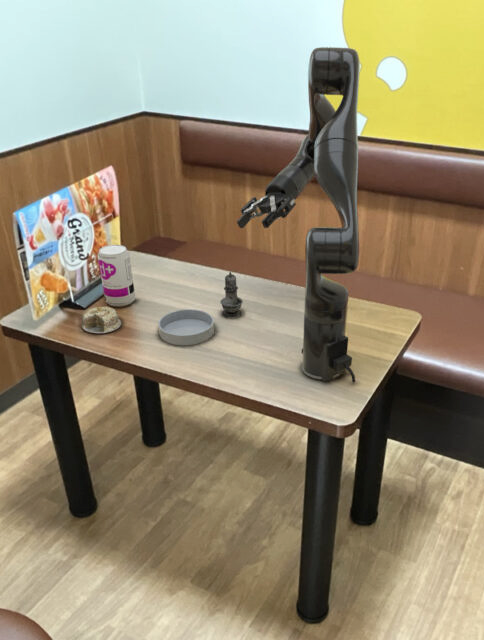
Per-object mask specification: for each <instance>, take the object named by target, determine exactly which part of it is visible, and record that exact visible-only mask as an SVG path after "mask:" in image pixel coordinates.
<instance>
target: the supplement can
mask: <svg viewBox="0 0 484 640" xmlns="http://www.w3.org/2000/svg"><path fill="white" fill-rule="evenodd" d="M97 261H98V266H99V272H100V279H101V282H102V290H103V296H104V301H105V303H106V304H107V305H108V306H111V307H116V308H117V307H118V308H120V307H126V306H128V305H131V304H132V303H133V302H134V301H135V300H136V293H135V292H136V291H135V286H134V285H135V284H134V278H133V271H132V264H131V256H130V252H129V250H128V249H127V247H126V246H125V245H123V244H107V245H104V246H102V247H100V248H99V250H98V253H97Z"/></svg>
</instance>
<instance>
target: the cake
mask: <svg viewBox="0 0 484 640" xmlns="http://www.w3.org/2000/svg"><path fill="white" fill-rule="evenodd" d="M121 326H122V322H121V319H120V318H119V314H118V312H117V311H116V309H114V308H113V307H109V306H98V307H97V306H95V307H92V308H88V309H86V310H85V311H84V312H83V314H82V317H81V328H82V329H83V330H84V331H86V332H88V333H92V334H106V333H111V332H113V331H116V330H118V329H119V328H120V327H121Z"/></svg>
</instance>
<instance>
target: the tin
mask: <svg viewBox="0 0 484 640" xmlns="http://www.w3.org/2000/svg"><path fill="white" fill-rule="evenodd" d="M157 324H158V325H157V327H158V334H159V337H160V339H161V340H163V341H164V342H165V343H168V344H171V345H173V346H193V345H197V344H201V343H203V342H206V341H208V340H210V339H211V338H212V337H213V335H214V334H215V320H214V317H213V316H212V315H211V314H210V313H208V312H206V311H203V310H200V309H195V308H194V309H192V308H188V309H187V308H185V309H178V310H173V311H170V312H168V313H166V314H164V315H163V316H162V317H161V318H160V319H159V320H158V323H157Z"/></svg>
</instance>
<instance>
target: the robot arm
mask: <svg viewBox="0 0 484 640" xmlns="http://www.w3.org/2000/svg"><path fill="white" fill-rule="evenodd" d="M360 63H361V62H360V56H359V52H358V51H357V50H356V49H354V48H350V47H331V46H329V47H328V46H327V47H324V46H323V47H316V48H314V49H312V51H311V53H310V56H309V60H308V67H307V89H308V90H307V95H308V96H307V97H308V107H309V123H308V133H307V135H305V137H304V138H303V139H302V142H301V145H300V147H299V149H298V152H297V154H296V155H295V157H294V158H293V159H292V160H291V161H290V162H289V163H288V164H287V166H286V167H285V168H283V169H282V170H281V171H280V172H279V173H278V174H277V175H276V176H275V177H274V178H273V179H272V180H271V181H270V182H269V183H268V184H267V185H266V188H265V191H264V192H265V193H264V195H263V196H262V197H260V199H257V197H256V196H253V197H252V198H251V199H250V200H249V201H247V203H246V204H245V205H243V206H242V208H240V212H241V214H242V215H241V216H240V217H239V218H238V219H237V220H236V224H237V225H238V227H239V229H244V228H245V227H246V225H248V223H250V221H251V220H252V219H254V218H256V217H257V218H259V217H261V216H264V215H265V214H266V215H265V217H263V219H262V220H261V224H262V226H263V228H264V229H268V228H269V227H270V226H272V224H273V223H274V222H275V221H277V220H280V218H281V219H286V217H287V216H288V215H289V214H290V212H291V211H292V210H293V209H294V207H295V206H296V205H297V203H296V200H297V198H298V197H300V195H301V194H302V193H303V191H304V190H305V188H306V187H307V186H308V185H309V184H310V183H311V181H312V180H313V179H314V178H315V179H316V182H317V183H318V185H319V186H320V188H321V189H322V191H323V192H324V194H325V195H326V196H327V198H328V199H329V200H330V202H331V204H332V206H333V207H334V209H335V211H336V212H337V216H338V217H339V220H340V225H341V227H327V226H326V227H324V226H320V227H319V226H318V227H317V226H315V227H311V228H310V229H309V230H308V231H307V234H306V236H305V243H304V245H305V246H304V257H305V259H304V260H305V289H304V290H305V291H304V309H303V311H304V312H303V313H304V315H303V339H302V340H303V341H302V342H303V343H302V349H301V354H302V364H301V371H302V372H303V374H304V375H306V376H307V377H309V378H311V379H313V380H320V381H323V382H325V383H327V382H329V381H332V380H334V379H337V378H338V377H341V376H343V375H346V372H347V371H348V373H349V374H350V376H351V377H350V378H351V383H356V375H355V372H354V371H353V370H352V368H351V367H352V362H353V357H352V356H351V355H349V354H348V348H349V337H348V336H347V335H346V331H347V318H348V307H349V290H348V288H347V287H346V286H345V285H343V284H342V283H340V282H337V281H335V280H332V279H330V278H328V277H326V276H325V275H349V274H354V273H355V272H356V271H357V269H358V266H359V262H360V233H359V217H358V173H359V140H358V107H359V106H358V104H359V89H360V71H361V70H360V69H361V67H360V66H361V64H360ZM326 96H342V98H341V100H340V103H339V104H338V107H337V109H335V107H334V105H333V104H332V102H331V101H330V100H329V99H328V98H327V97H326ZM258 210H259V211H258ZM324 274H325V275H324Z"/></svg>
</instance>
